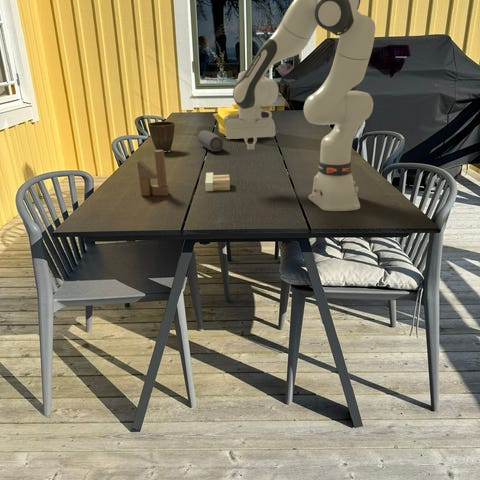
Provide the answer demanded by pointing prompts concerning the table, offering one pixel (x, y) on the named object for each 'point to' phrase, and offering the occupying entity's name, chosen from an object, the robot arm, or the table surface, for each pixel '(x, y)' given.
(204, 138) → the bluetooth speaker
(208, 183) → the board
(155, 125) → the plant pot
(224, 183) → the oak block
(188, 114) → the table surface
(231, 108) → the cube teapot
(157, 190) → the wooden block
